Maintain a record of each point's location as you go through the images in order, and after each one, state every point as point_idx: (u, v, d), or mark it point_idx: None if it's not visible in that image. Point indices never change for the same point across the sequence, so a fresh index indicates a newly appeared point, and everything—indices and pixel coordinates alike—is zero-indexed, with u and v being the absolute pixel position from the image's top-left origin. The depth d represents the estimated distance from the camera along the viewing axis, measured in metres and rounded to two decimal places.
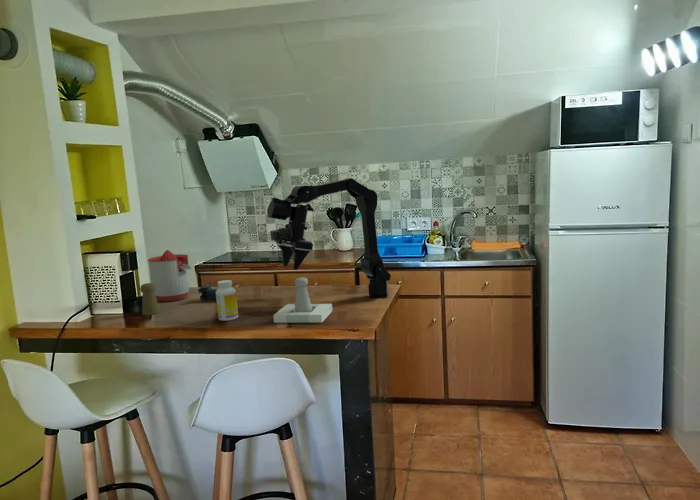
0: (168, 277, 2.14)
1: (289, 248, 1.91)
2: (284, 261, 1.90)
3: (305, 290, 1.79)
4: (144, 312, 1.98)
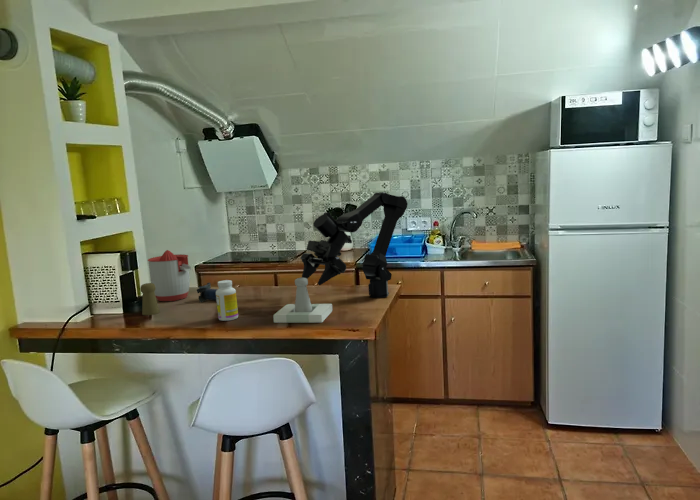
0: (168, 277, 2.14)
1: (312, 267, 1.89)
2: (303, 276, 1.86)
3: (305, 290, 1.79)
4: (144, 312, 1.98)
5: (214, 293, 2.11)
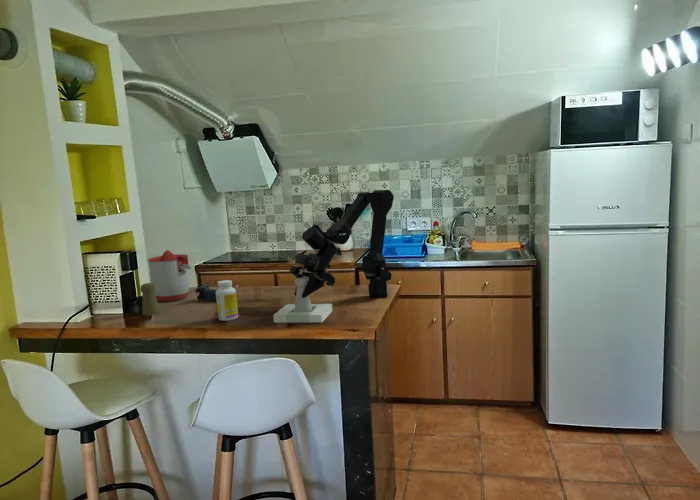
0: (168, 277, 2.14)
1: None
2: None
3: None
4: (144, 312, 1.98)
5: (212, 293, 2.11)
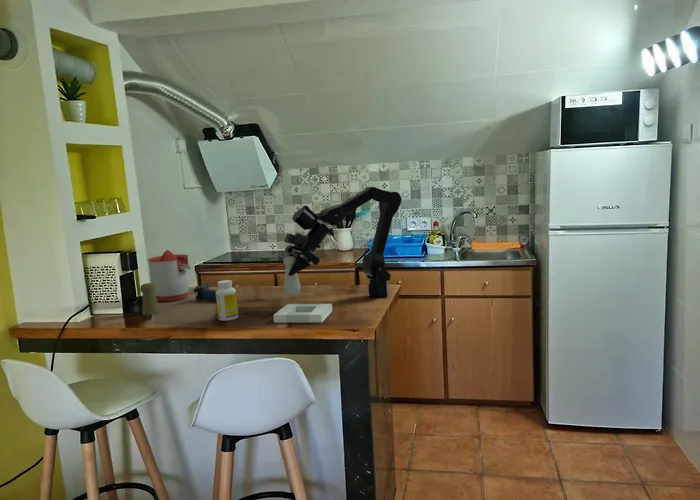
0: (168, 277, 2.14)
1: None
2: None
3: None
4: (144, 312, 1.98)
5: (210, 293, 2.11)
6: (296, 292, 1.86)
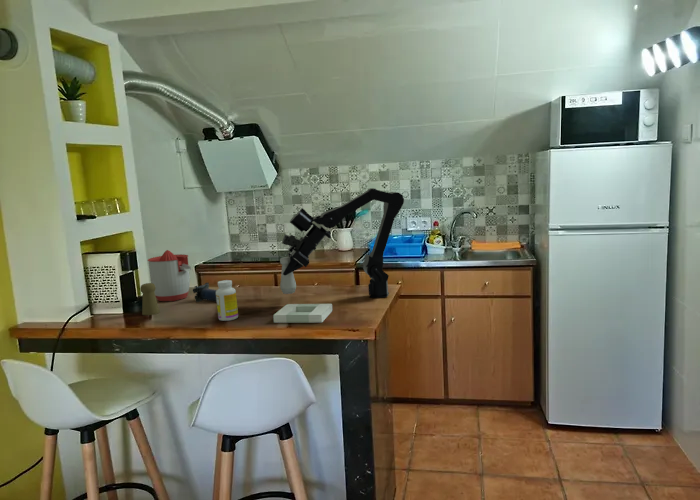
0: (168, 277, 2.14)
1: None
2: None
3: None
4: (144, 312, 1.98)
5: (209, 293, 2.11)
6: (290, 291, 1.96)
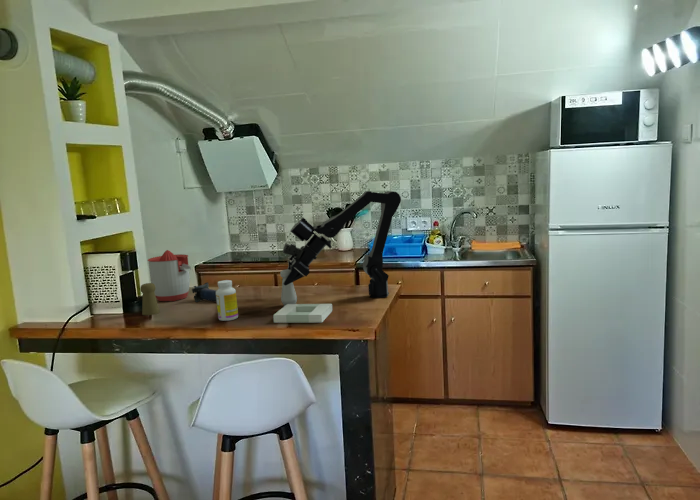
0: (168, 277, 2.14)
1: None
2: None
3: None
4: (144, 312, 1.98)
5: (208, 293, 2.11)
6: (291, 303, 1.96)
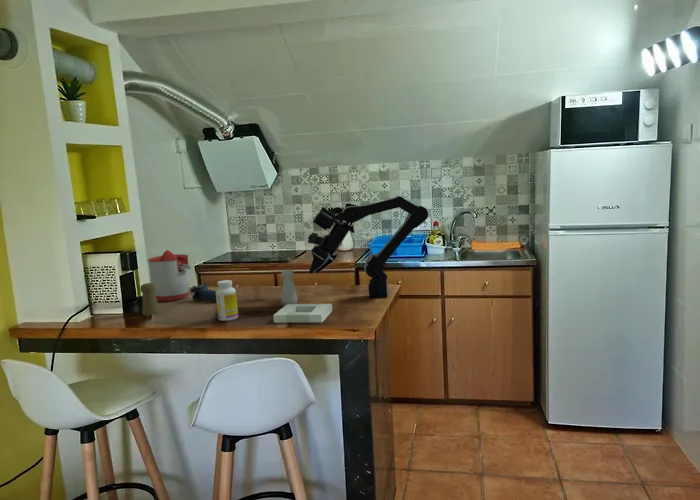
0: (168, 277, 2.14)
1: (327, 259, 2.06)
2: (317, 268, 2.06)
3: (289, 281, 1.96)
4: (144, 312, 1.98)
5: (206, 294, 2.11)
6: None
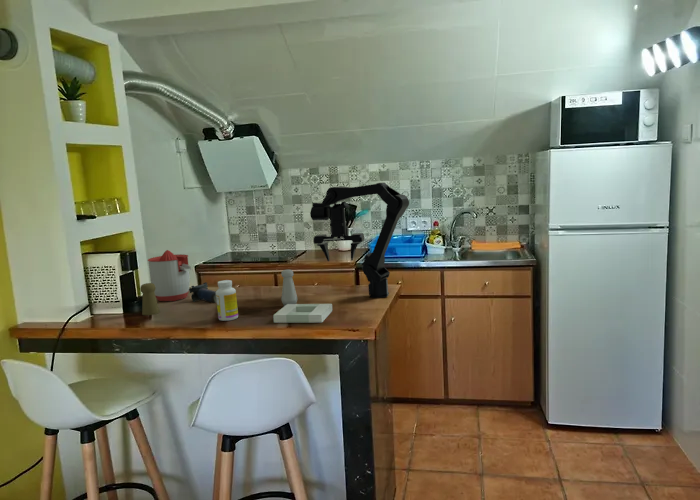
0: (168, 277, 2.14)
1: None
2: None
3: (289, 281, 1.96)
4: (144, 312, 1.98)
5: (204, 294, 2.11)
6: None
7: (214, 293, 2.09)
